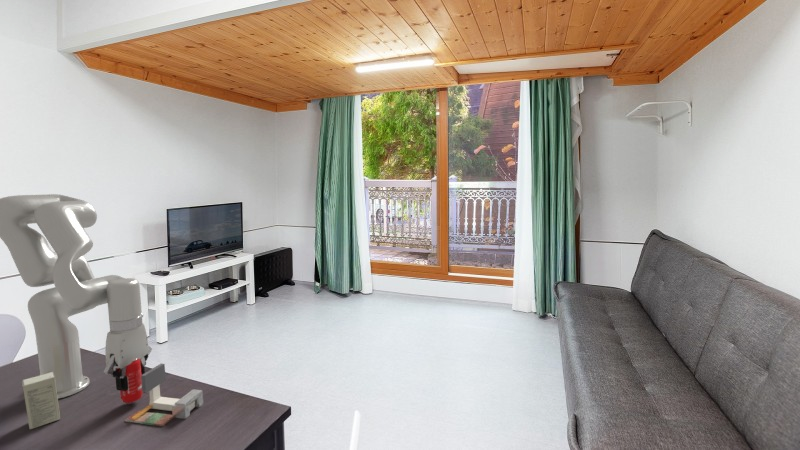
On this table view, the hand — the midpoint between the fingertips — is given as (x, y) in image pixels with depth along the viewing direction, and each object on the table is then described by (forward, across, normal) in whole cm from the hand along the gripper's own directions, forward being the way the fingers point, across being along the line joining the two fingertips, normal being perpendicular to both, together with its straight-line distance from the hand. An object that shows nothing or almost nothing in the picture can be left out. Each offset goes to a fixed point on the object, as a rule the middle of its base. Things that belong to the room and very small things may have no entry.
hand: (131, 384), depth 112 cm
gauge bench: (+6, +2, +12) cm, 14 cm away
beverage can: (+5, 0, 0) cm, 5 cm away
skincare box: (+6, +12, -16) cm, 21 cm away
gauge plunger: (+6, +2, +13) cm, 14 cm away
